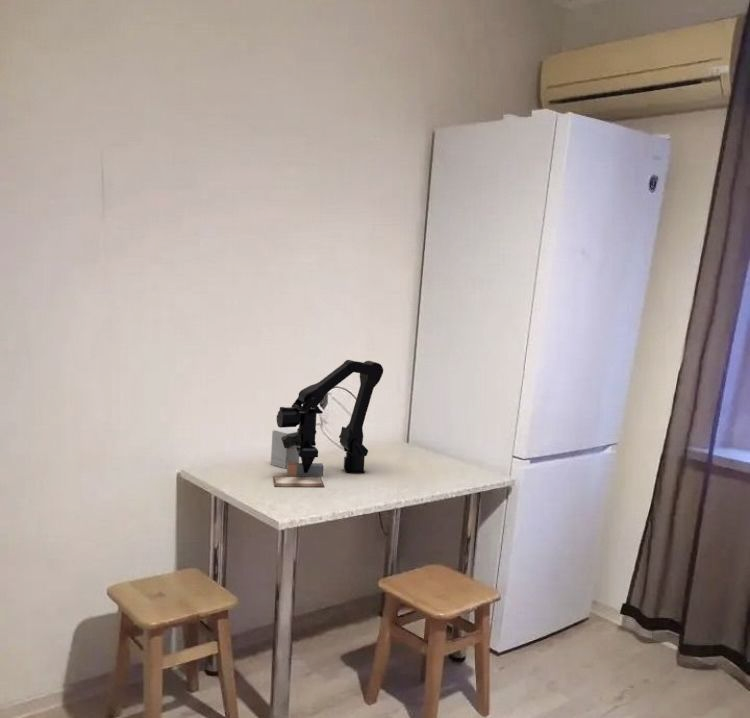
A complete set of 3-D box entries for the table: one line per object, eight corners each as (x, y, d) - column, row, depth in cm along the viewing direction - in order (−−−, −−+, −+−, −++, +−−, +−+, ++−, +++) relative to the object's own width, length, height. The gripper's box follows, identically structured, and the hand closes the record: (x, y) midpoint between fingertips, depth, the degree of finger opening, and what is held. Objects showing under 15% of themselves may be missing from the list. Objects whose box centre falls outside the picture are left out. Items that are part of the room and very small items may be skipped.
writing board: (320, 477, 241) (320, 475, 241) (324, 487, 230) (324, 485, 230) (272, 477, 238) (272, 475, 238) (274, 487, 227) (274, 484, 227)
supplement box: (285, 468, 249) (286, 433, 248) (270, 464, 254) (271, 429, 252) (299, 465, 255) (301, 430, 254) (284, 461, 259) (286, 427, 258)
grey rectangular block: (321, 473, 246) (322, 462, 246) (322, 476, 243) (323, 465, 242) (286, 473, 244) (287, 462, 244) (287, 476, 240) (288, 465, 240)
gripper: (281, 420, 249) (279, 463, 251) (285, 431, 231) (283, 478, 232) (313, 420, 251) (311, 464, 253) (319, 432, 233) (317, 479, 235)
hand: (305, 471), depth 243 cm, fingers closed on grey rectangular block, 4 cm apart
